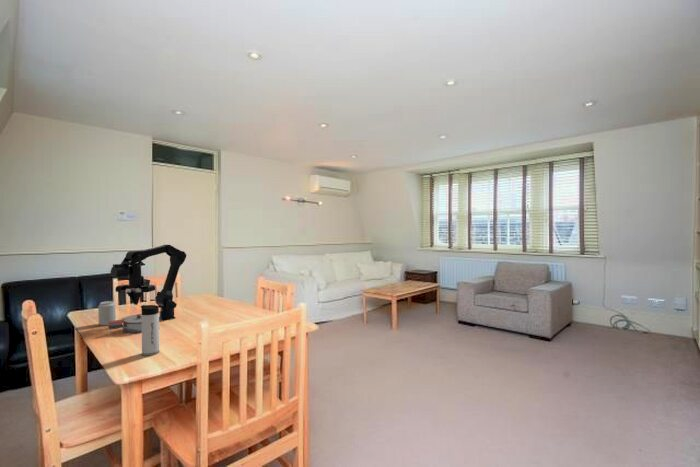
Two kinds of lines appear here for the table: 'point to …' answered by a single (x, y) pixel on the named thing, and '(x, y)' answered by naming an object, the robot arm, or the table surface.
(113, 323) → the lid
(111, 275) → the robot arm
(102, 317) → the can
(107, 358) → the table surface
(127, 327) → the pot
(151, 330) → the travel mug
